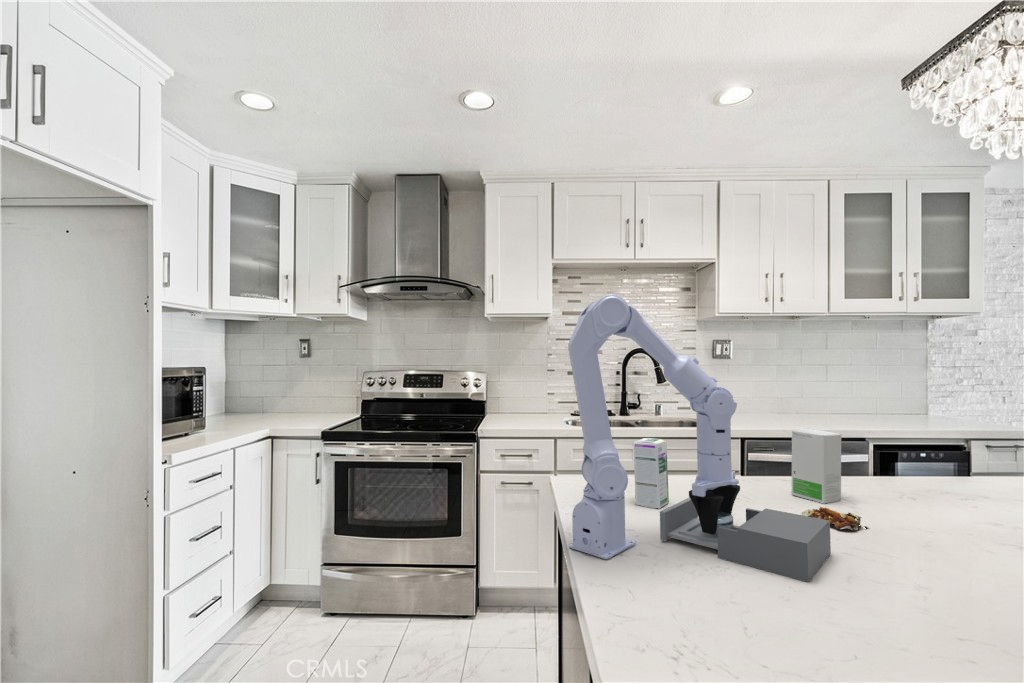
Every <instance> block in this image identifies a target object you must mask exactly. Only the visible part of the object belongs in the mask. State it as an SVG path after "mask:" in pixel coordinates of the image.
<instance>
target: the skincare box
mask: <svg viewBox="0 0 1024 683" xmlns="http://www.w3.org/2000/svg"><path fill="white" fill-rule="evenodd" d="M791 495H792V496H794V497H795V496H796V497H798V498H803V499H806V500H808V501H809V500H810V501H812V500H813V501H812V502H816V503H819V502H820V503H819V504H822V503H824V504H823V505H825V503H827V504H831V503H836V502H840V501H839V500H841V501H842V434H841V433H837V432H831V431H826V430H821V429H814V428H801V429H800V428H799V429H791ZM835 501H836V502H835ZM830 502H831V503H830Z"/></svg>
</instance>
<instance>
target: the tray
mask: <svg viewBox="0 0 1024 683" xmlns="http://www.w3.org/2000/svg"><path fill="white" fill-rule="evenodd" d="M738 527H739V525H734V524H733V528H731V529H735V530H737V528H738ZM659 533H660V534H659V535H660V536H659V538H660V540H662V541H664V542H666V541H668V540H669V539H671V538H672V539H676V540H680V541H683V542H688V543H692V544H695V545H699V546H703V547H707V548H711V549H714V550H718V536H717V530H716V533H715V534H714V535H713V534H708V533H704V532H703V531H702V528H701V525H700V521H699V517H698V514H697V511H696V508H695V506H694V504H693V502H692V500H691V499H690V497H689V496H688V497H687V498H686V499H685V498H684V499H683V500H681V501H679V502H677V503H675V504H673V505H670V506H669V507H667V508H664V509H663V510H660V511H659Z"/></svg>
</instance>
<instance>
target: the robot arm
mask: <svg viewBox="0 0 1024 683" xmlns="http://www.w3.org/2000/svg"><path fill="white" fill-rule="evenodd" d="M613 335H614V336H617V337H623V338H627V339H631V340H632V341H634V342H635V344H637V345H638V346H639V348H641V349H642V350H644V351H645V353H647V354H648V355H649V356H651V358H652V359H654V360H655V361H656V362H657V363H658V364H659V365H661V366H662V367H663V376H664V379H665V380H666V381H668V383H669V384H671V385H672V386H673V388H675V389H676V390H677V391H678V392H679V393H680V395H681V396H683V397H684V399H686V400H687V401H688V402H689V406H690V407H691V408H690V409H691V410H692V411H693V412H696V453H697V454H696V455H697V456H696V458H697V460H696V461H697V463H696V464H697V475H696V477H695V481H694V482H693V483H691V489H690V490H689V491H688V498H689V497H690V499H691V500H692V502H693V504H694V506H695V508H696V511H697V514H698V518H699V521H700V525H701V528H702V531H703V532H704V533H708V534H713V535H714V534H715V533H716V530H717V521H718V513H719V511H722V512H726V513H729V514H731V515H732V513H733V509H734V508H733V507H734V504H735V501H736V499H737V496H738V495H739V493H740V491H741V486H740V485H739V483H740V481H739V479H737V478H736V470H732V439H731V437H732V436H731V425H732V424H731V419H732V417H733V415H734V414H735V413H736V411H737V407H738V403H737V402H736V401H735V399H734V395H733V394H732V393H731V392H730V390H728V389H726V388H725V387H720V386H717V383H718V380H717V379H716V377H713V376H712V377H711V376H710V375H709V374H707V372H705V371H704V370H703V368H701V367H700V366H699V364H700V361H699V360H698V359H697V358H696V357H690V356H689V355H685V354H684V355H681V354H680V355H678V353H676V351H674V350H673V348H671V346H670V345H668V343H667V342H666V341H665V340H664V339H663V337H661V335H659V334H658V333H657V331H656V330H655V329H654V328H653V327H652V326H651V325H650V324H649V323H648V322H647V321H646V319H644V318H643V316H642V315H641V314H640V312H639V311H638V310H637V309H636V308H635V307H633V306H632V305H629V303H627V301H626V300H625V299H624V298H623V297H621V296H619V295H617V294H606V295H604V296H602V297H600V298H599V299H598V300H595V301H592V302H590V303H589V304H588V305H587V306H586V307H585V308H584V309H583V310H582V311H581V312H580V314H578V319H577V321H576V325H575V327H574V329H573V331H572V335H571V337H570V339H569V341H568V348H567V350H568V355H569V360H570V367H571V372H572V378H573V382H574V383H573V385H574V389H575V397H576V401H577V406H578V411H579V412H578V413H579V419H580V423H581V430H582V437H583V445H582V446H583V447H582V453H583V459H582V463H581V468H580V469H581V471H580V472H581V474H582V477H583V479H584V481H586V485H585V487H584V489H583V494H582V499H581V500H580V501H579V502H578V503H577V504H575V505H574V507H573V510H572V516H571V517H572V543H569V544H568V547H569V549H572V550H577V551H579V552H582V553H585V554H588V555H591V556H595V557H598V558H601V559H602V560H603V559H604V560H609V559H610V558H612V557H614V556H616V555H617V554H620V553H621V552H624V551H625V550H628V549H629V548H631V547H633V546H635V545H636V541H635V540H633V539H629V538H626V505H625V504H626V500H625V499H626V498H625V497H626V496H625V491H626V490H627V488H628V483H629V478H628V473H627V471H626V469H625V468H624V467H623V466H622V464H621V461H620V458H619V452H618V450H617V448H616V446H615V443H614V441H613V436H612V431H611V425H610V421H609V420H610V418H609V413H608V409H607V408H608V407H607V401H606V394H605V390H604V385H603V379H602V373H601V369H600V368H601V367H600V361H599V356H598V352H599V350H601V348H602V347H603V345H605V343H606V342H607V340H608V339H609V338H610V337H612V336H613Z"/></svg>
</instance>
